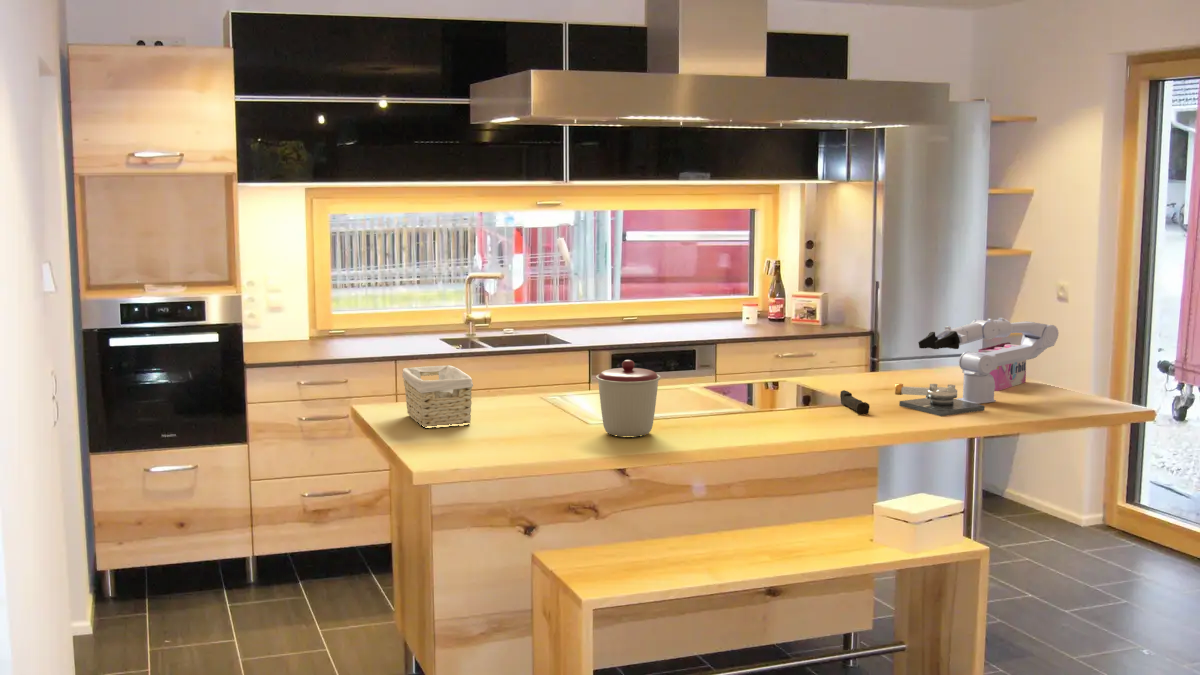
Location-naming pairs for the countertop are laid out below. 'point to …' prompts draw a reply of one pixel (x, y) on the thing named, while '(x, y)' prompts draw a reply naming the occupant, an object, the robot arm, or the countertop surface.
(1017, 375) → the gum box
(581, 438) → the countertop surface
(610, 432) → the canister
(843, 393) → the hand tool
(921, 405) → the plate
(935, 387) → the grey mechanical part
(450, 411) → the storage basket
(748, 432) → the countertop surface
